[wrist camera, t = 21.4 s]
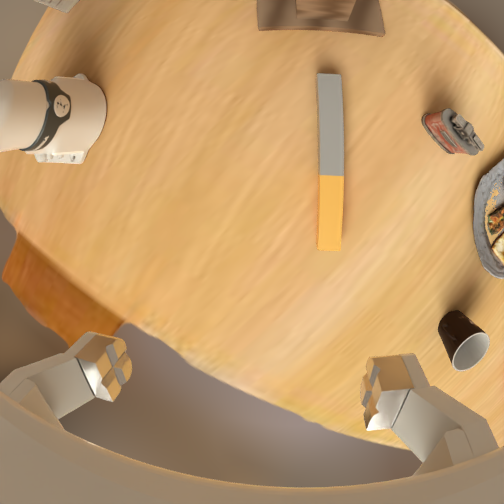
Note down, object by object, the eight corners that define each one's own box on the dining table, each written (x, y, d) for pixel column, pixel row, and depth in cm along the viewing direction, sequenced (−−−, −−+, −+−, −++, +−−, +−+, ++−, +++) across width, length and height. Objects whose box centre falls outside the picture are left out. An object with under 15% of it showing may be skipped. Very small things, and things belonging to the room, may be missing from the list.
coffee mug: (470, 326, 45) (491, 353, 36) (438, 348, 48) (456, 378, 38) (459, 286, 43) (484, 311, 34) (424, 310, 46) (444, 340, 36)
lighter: (417, 123, 36) (447, 116, 27) (427, 109, 35) (458, 101, 25) (449, 158, 37) (482, 161, 27) (458, 144, 35) (492, 145, 26)
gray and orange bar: (316, 243, 45) (317, 250, 42) (315, 79, 37) (317, 73, 33) (337, 244, 44) (340, 250, 41) (337, 80, 36) (341, 74, 33)
